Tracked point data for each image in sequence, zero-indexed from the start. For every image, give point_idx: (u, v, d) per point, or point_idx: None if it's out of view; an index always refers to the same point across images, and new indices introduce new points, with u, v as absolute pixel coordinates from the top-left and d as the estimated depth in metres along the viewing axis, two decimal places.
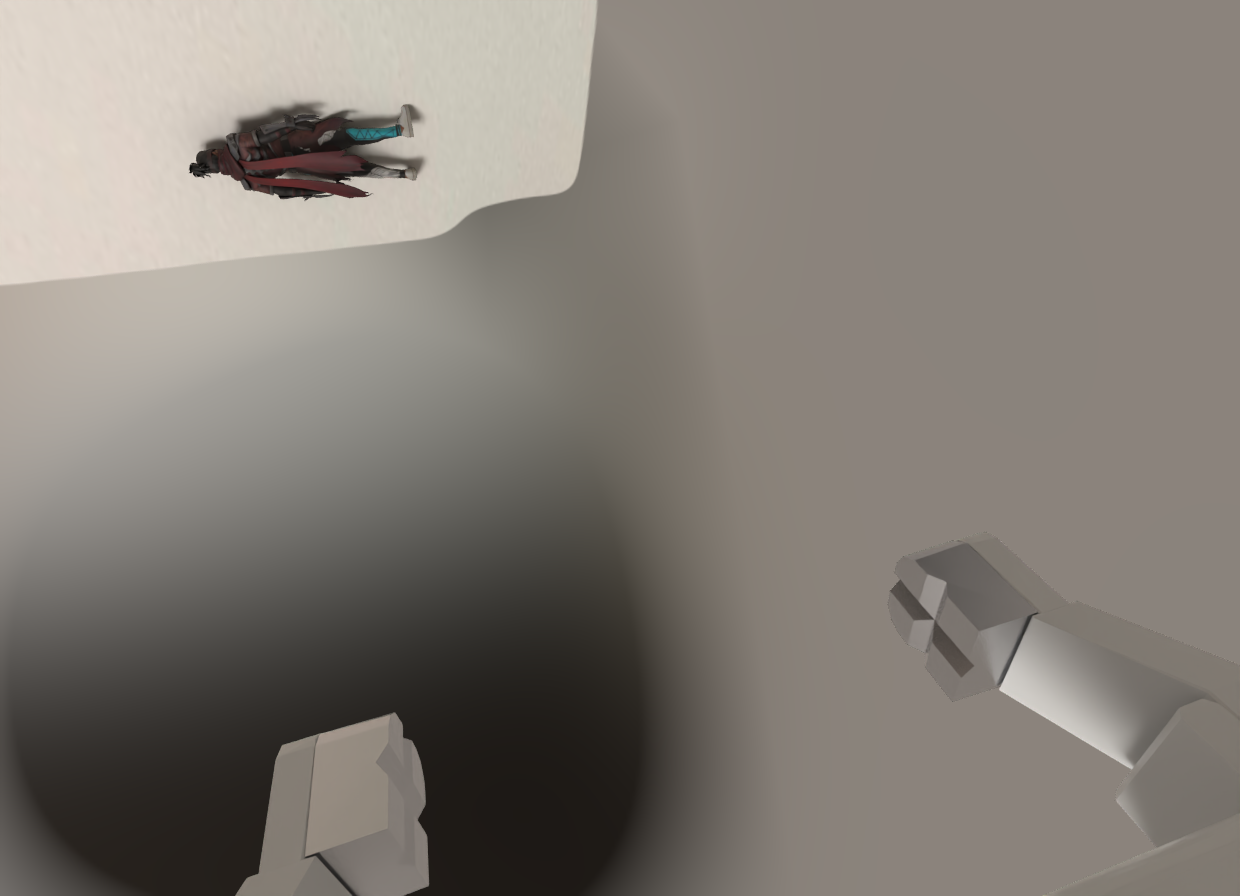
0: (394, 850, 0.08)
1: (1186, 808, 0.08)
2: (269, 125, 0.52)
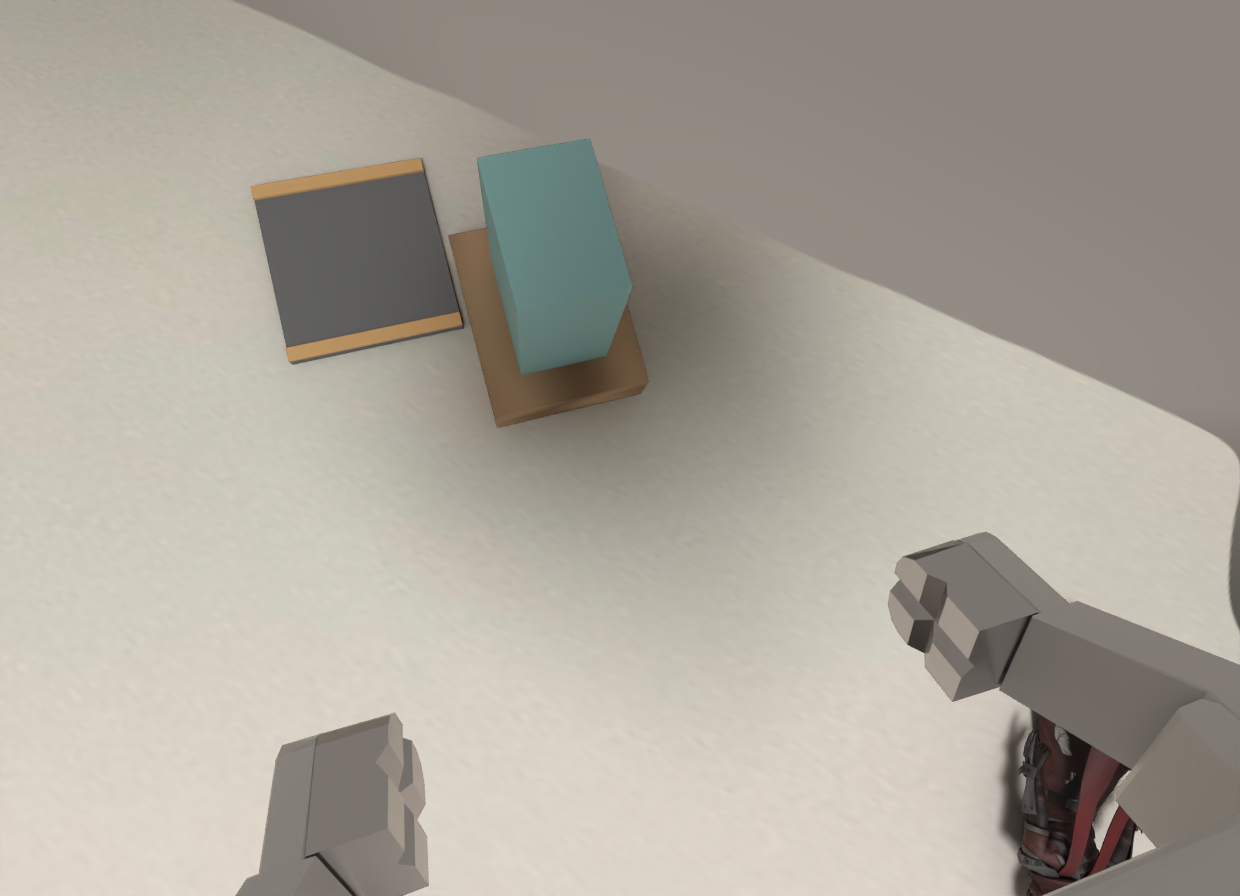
0: (393, 850, 0.08)
1: (1187, 808, 0.08)
2: (1025, 799, 0.37)
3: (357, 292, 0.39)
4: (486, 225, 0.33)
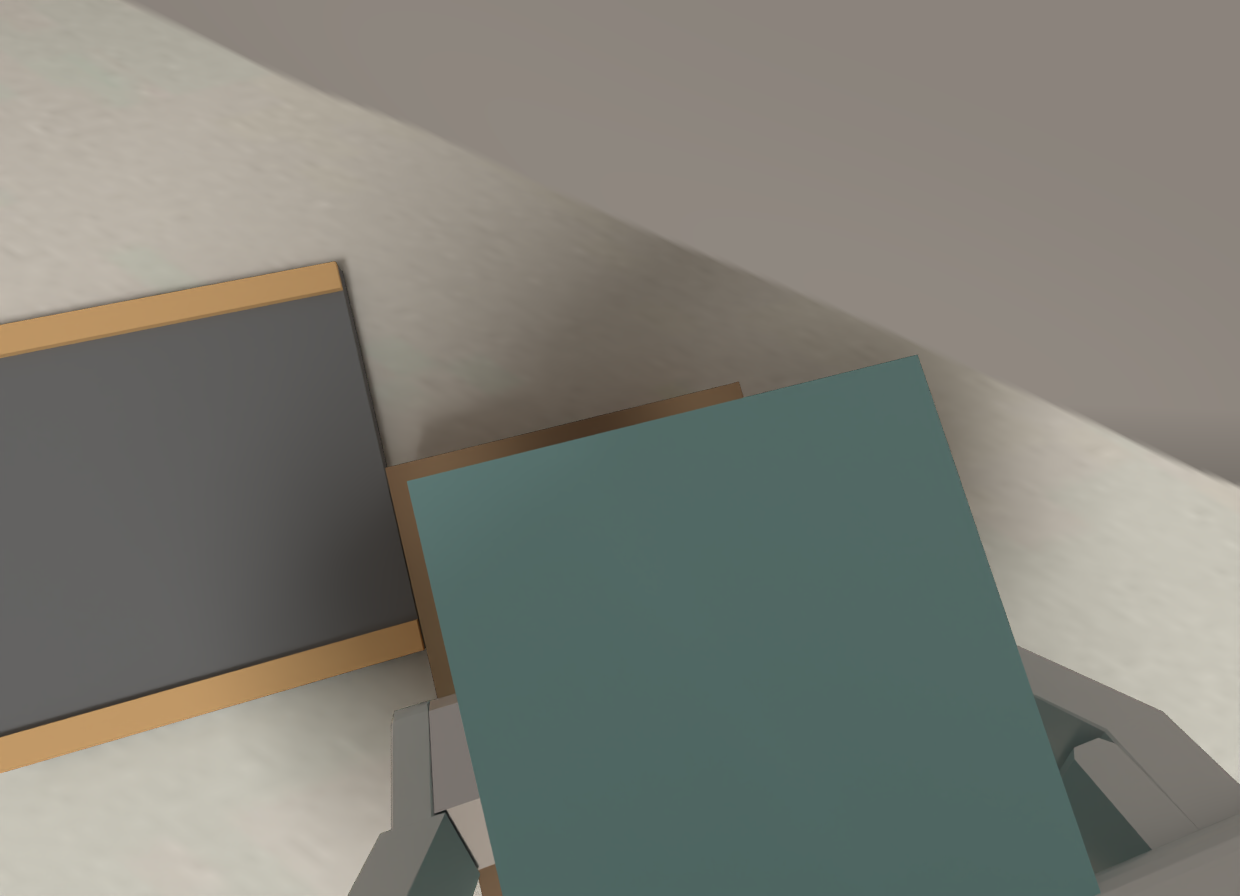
0: None
1: None
2: None
3: (180, 582, 0.17)
4: None
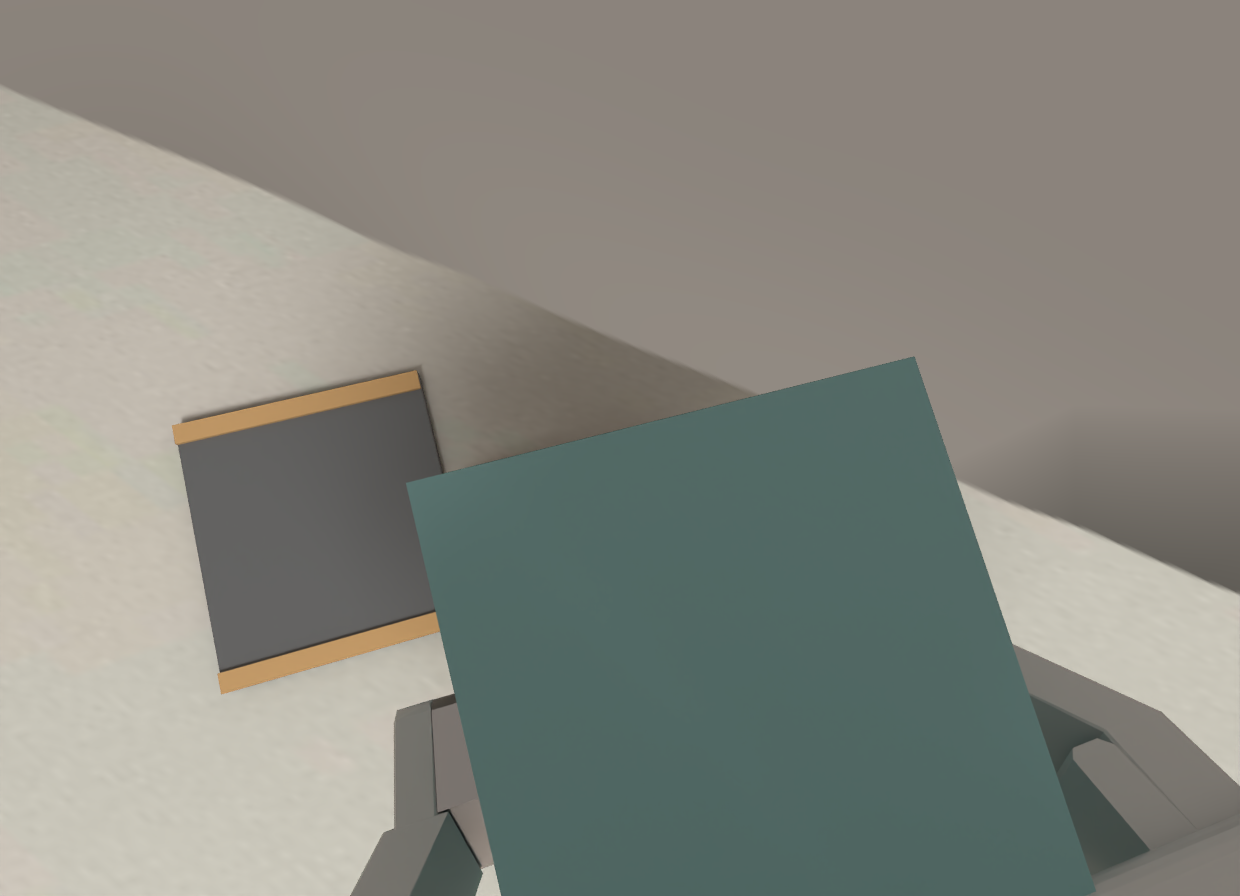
0: None
1: None
2: None
3: (324, 578, 0.27)
4: None
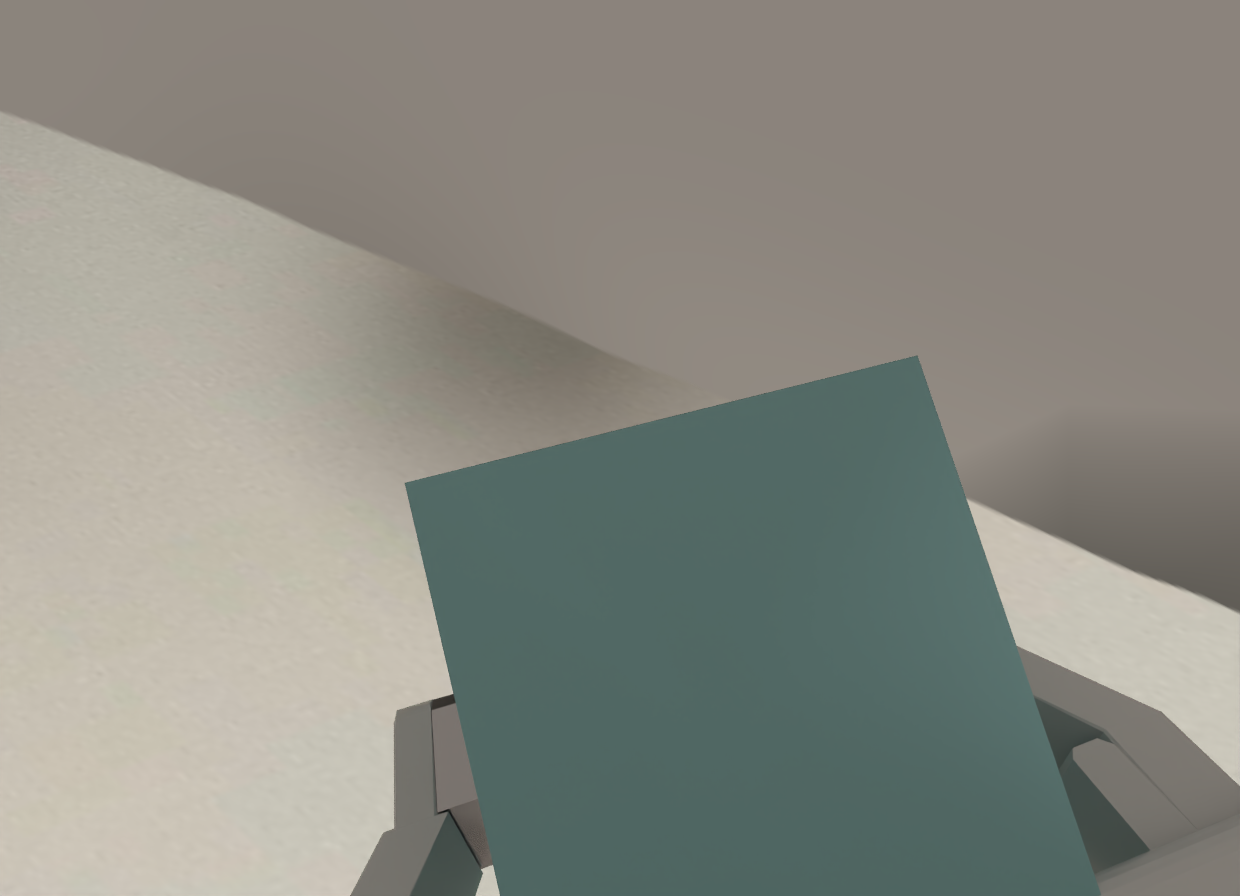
0: None
1: None
2: None
3: None
4: None
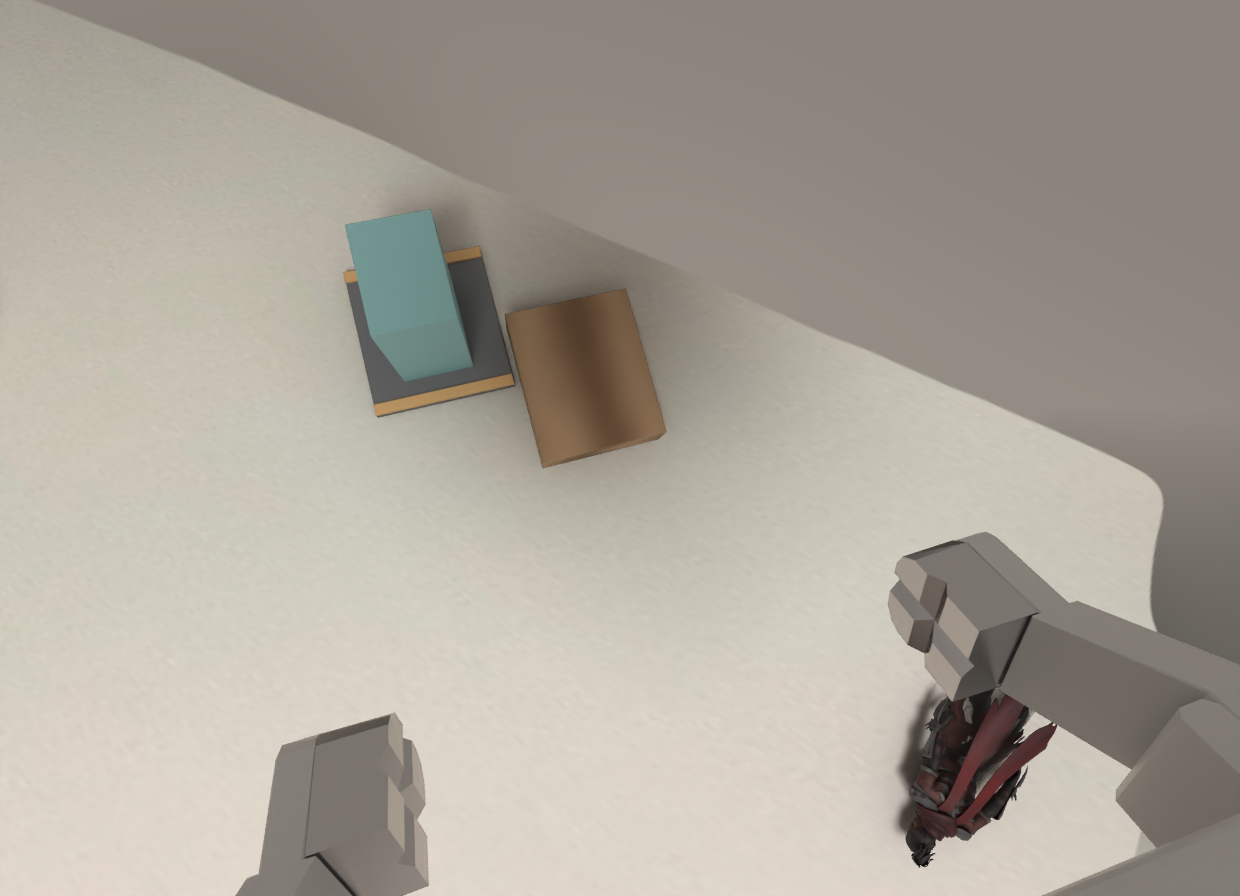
0: (393, 850, 0.08)
1: (1187, 808, 0.08)
2: (926, 746, 0.46)
3: None
4: None
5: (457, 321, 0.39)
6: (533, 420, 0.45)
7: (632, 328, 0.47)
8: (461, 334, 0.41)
